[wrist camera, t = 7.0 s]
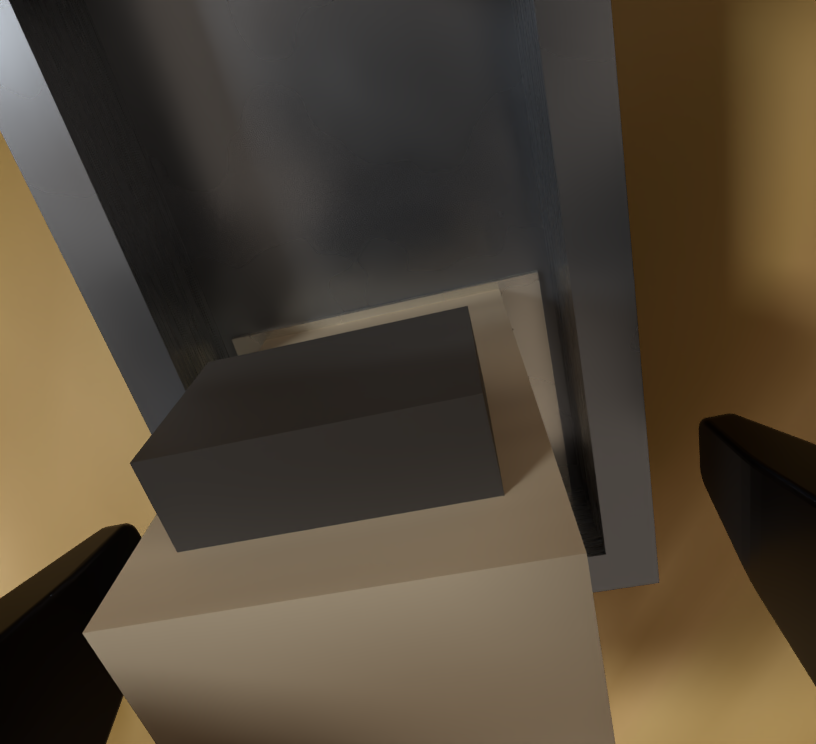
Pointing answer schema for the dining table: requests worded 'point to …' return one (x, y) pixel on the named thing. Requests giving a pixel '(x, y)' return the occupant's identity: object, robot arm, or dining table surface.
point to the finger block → (360, 549)
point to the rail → (348, 196)
